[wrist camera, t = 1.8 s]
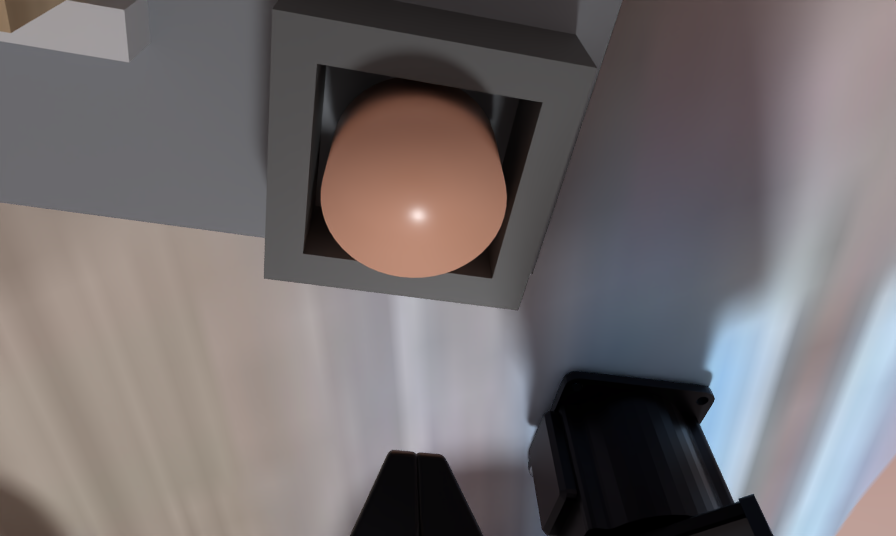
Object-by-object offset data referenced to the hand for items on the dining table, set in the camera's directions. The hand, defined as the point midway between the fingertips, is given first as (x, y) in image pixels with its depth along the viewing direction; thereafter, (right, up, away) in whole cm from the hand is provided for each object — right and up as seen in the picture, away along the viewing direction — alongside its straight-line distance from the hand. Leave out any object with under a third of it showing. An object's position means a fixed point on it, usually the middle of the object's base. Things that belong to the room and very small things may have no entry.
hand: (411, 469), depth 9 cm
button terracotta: (0, +6, +8) cm, 10 cm away
